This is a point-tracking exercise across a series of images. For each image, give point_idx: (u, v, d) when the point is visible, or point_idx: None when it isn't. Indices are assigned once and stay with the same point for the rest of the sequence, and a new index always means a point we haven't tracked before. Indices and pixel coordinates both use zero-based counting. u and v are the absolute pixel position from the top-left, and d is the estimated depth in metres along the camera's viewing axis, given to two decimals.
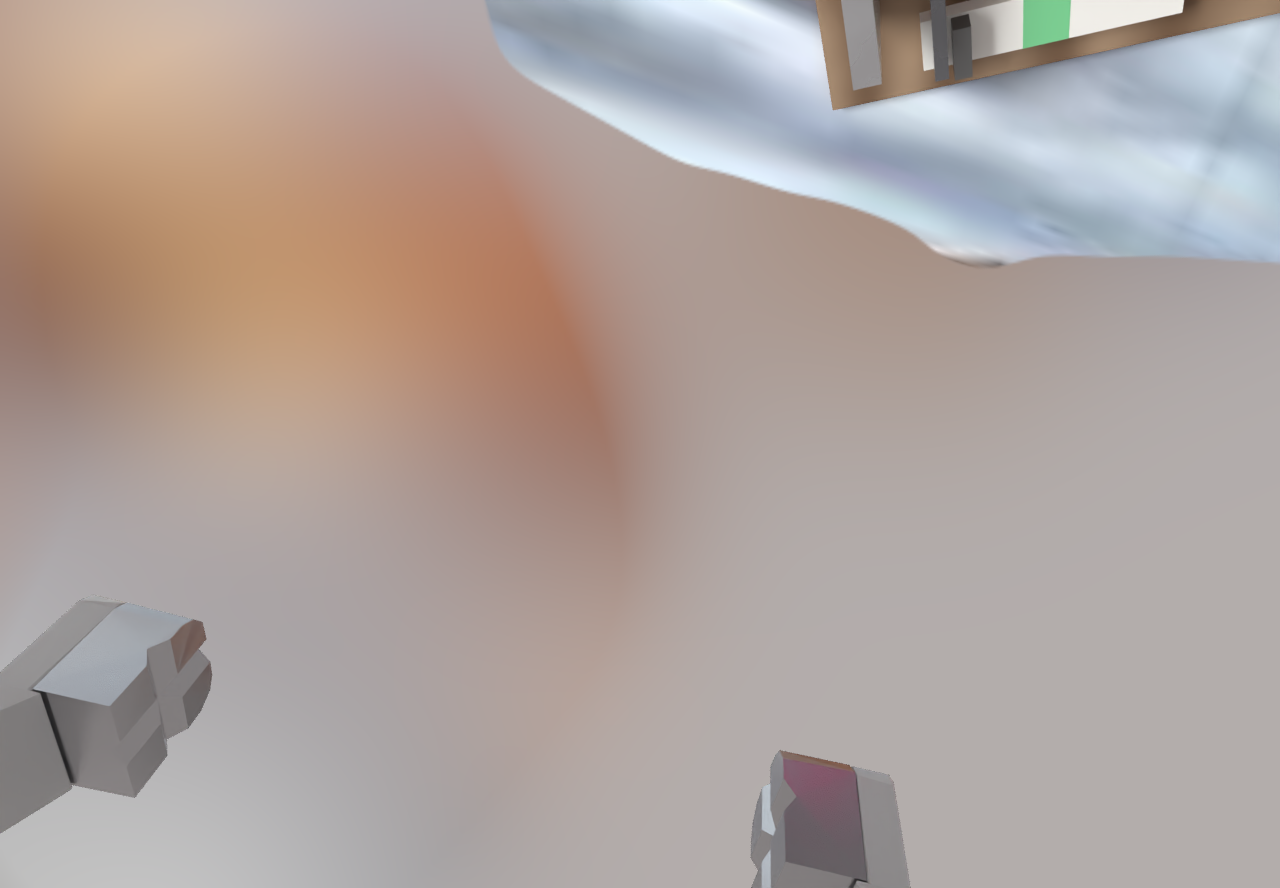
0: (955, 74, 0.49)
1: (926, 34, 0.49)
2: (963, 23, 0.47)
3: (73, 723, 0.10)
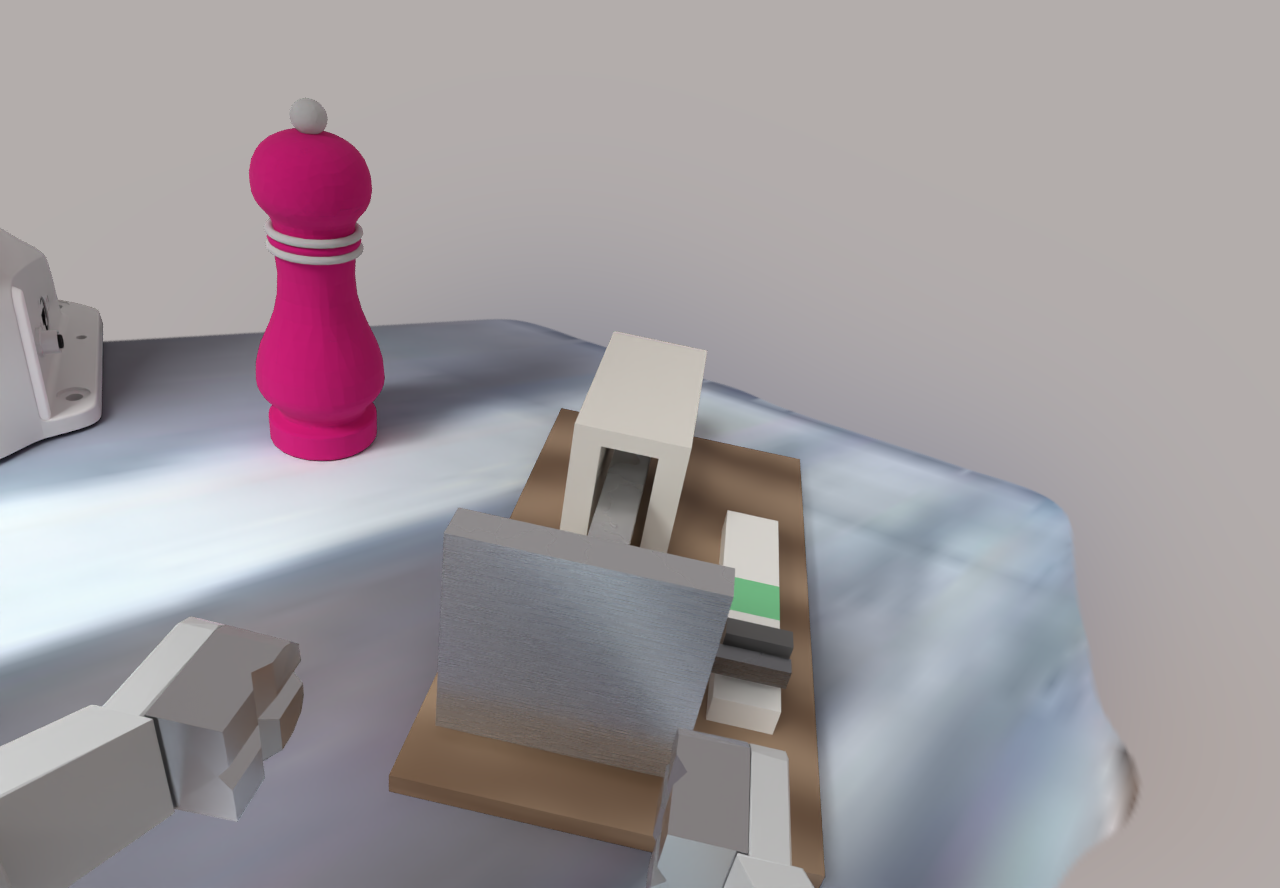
0: (785, 646, 0.35)
1: (730, 695, 0.35)
2: (723, 633, 0.36)
3: (182, 748, 0.10)
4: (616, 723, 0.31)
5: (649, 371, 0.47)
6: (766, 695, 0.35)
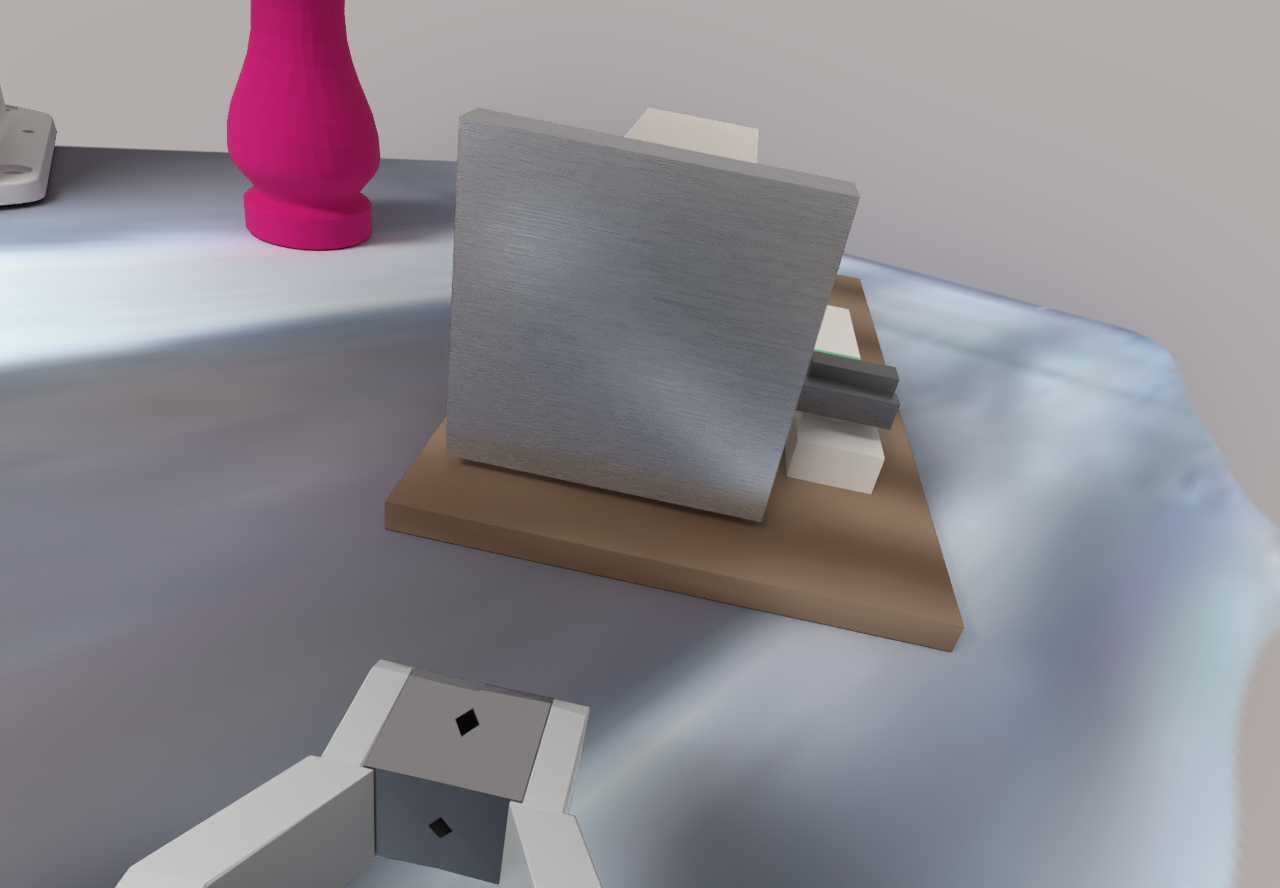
0: (888, 379, 0.28)
1: (819, 441, 0.28)
2: (807, 370, 0.28)
3: (396, 798, 0.09)
4: (684, 432, 0.23)
5: (694, 132, 0.39)
6: (863, 444, 0.28)
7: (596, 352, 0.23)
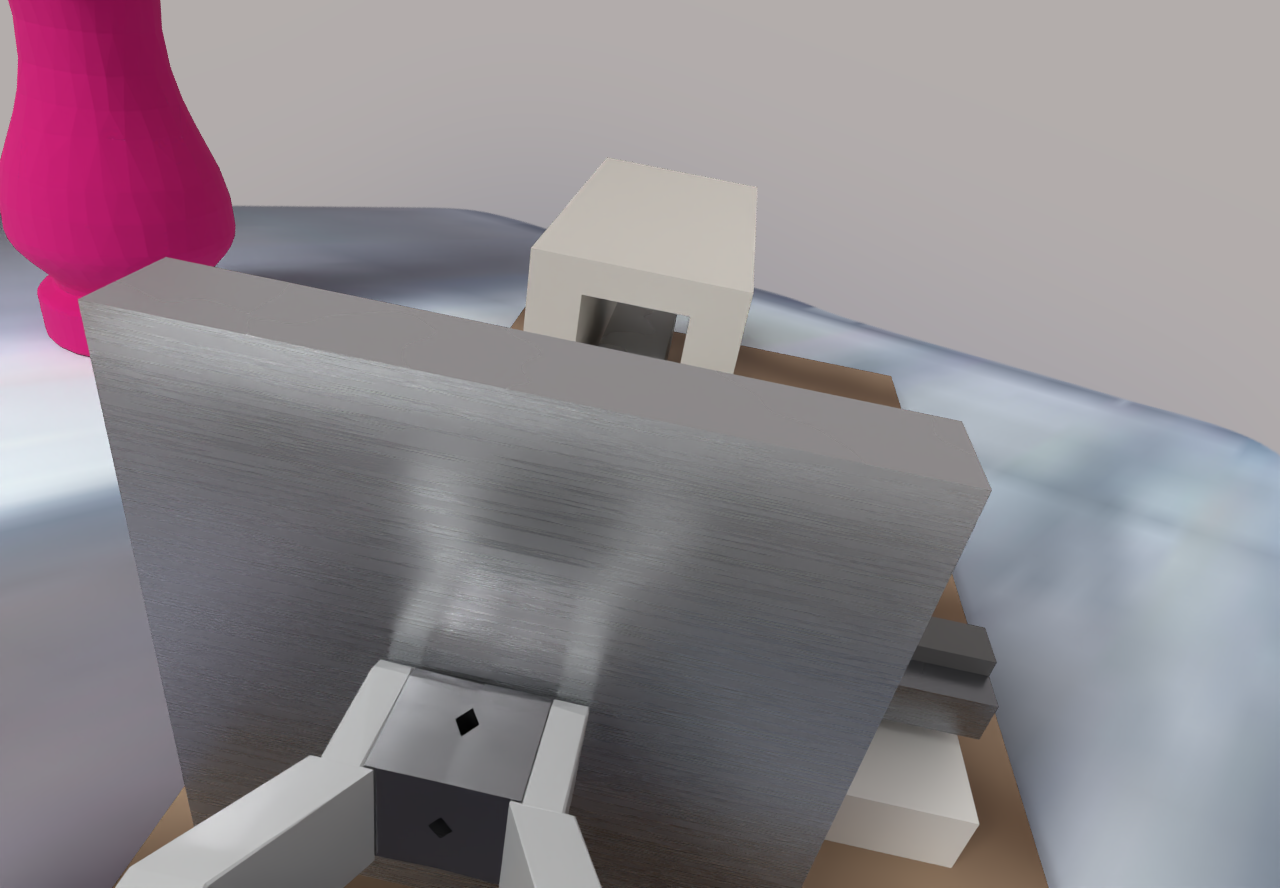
0: (977, 659, 0.16)
1: (863, 786, 0.16)
2: None
3: (396, 798, 0.09)
4: (618, 842, 0.12)
5: (666, 200, 0.28)
6: (939, 783, 0.16)
7: None
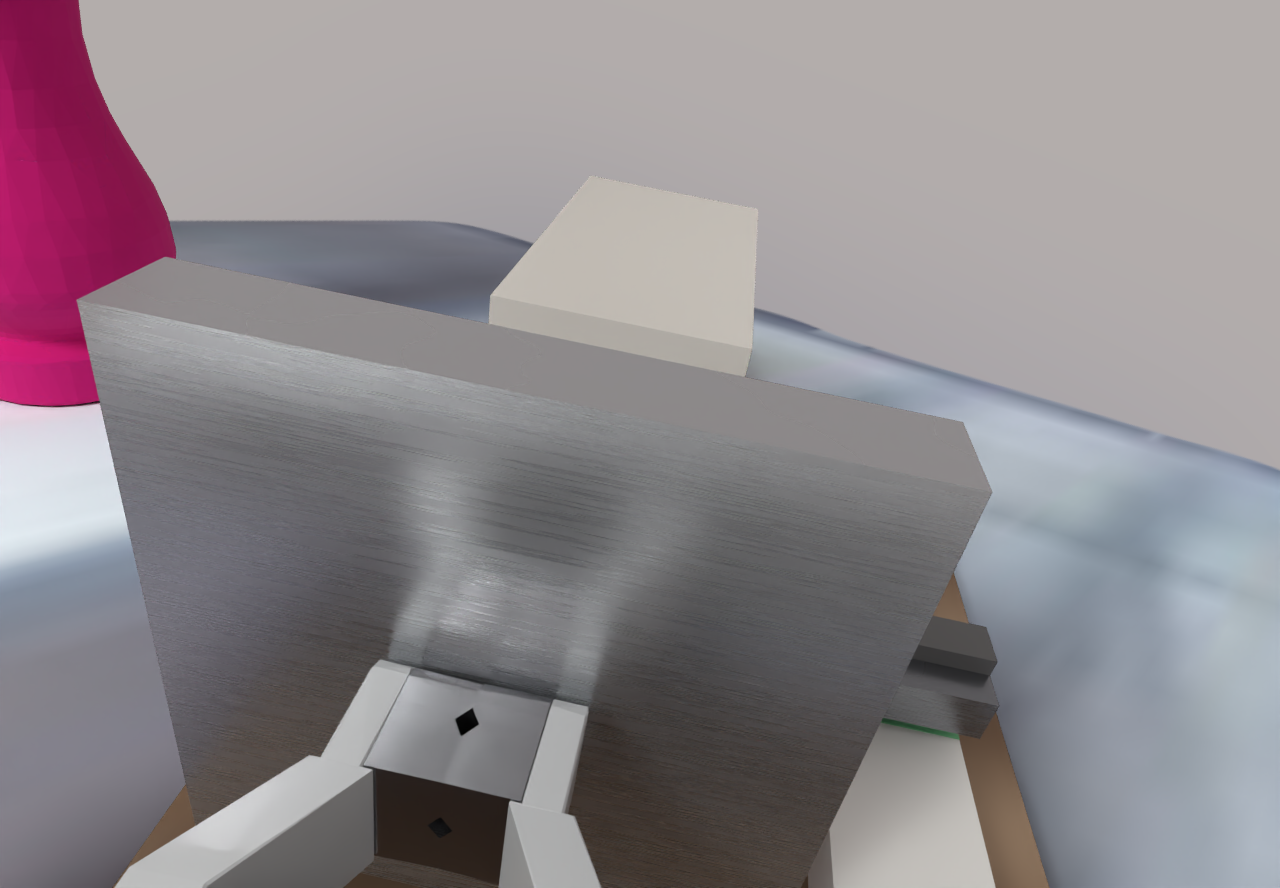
0: (978, 659, 0.16)
1: None
2: None
3: (396, 798, 0.09)
4: (617, 841, 0.12)
5: (654, 228, 0.24)
6: None
7: None
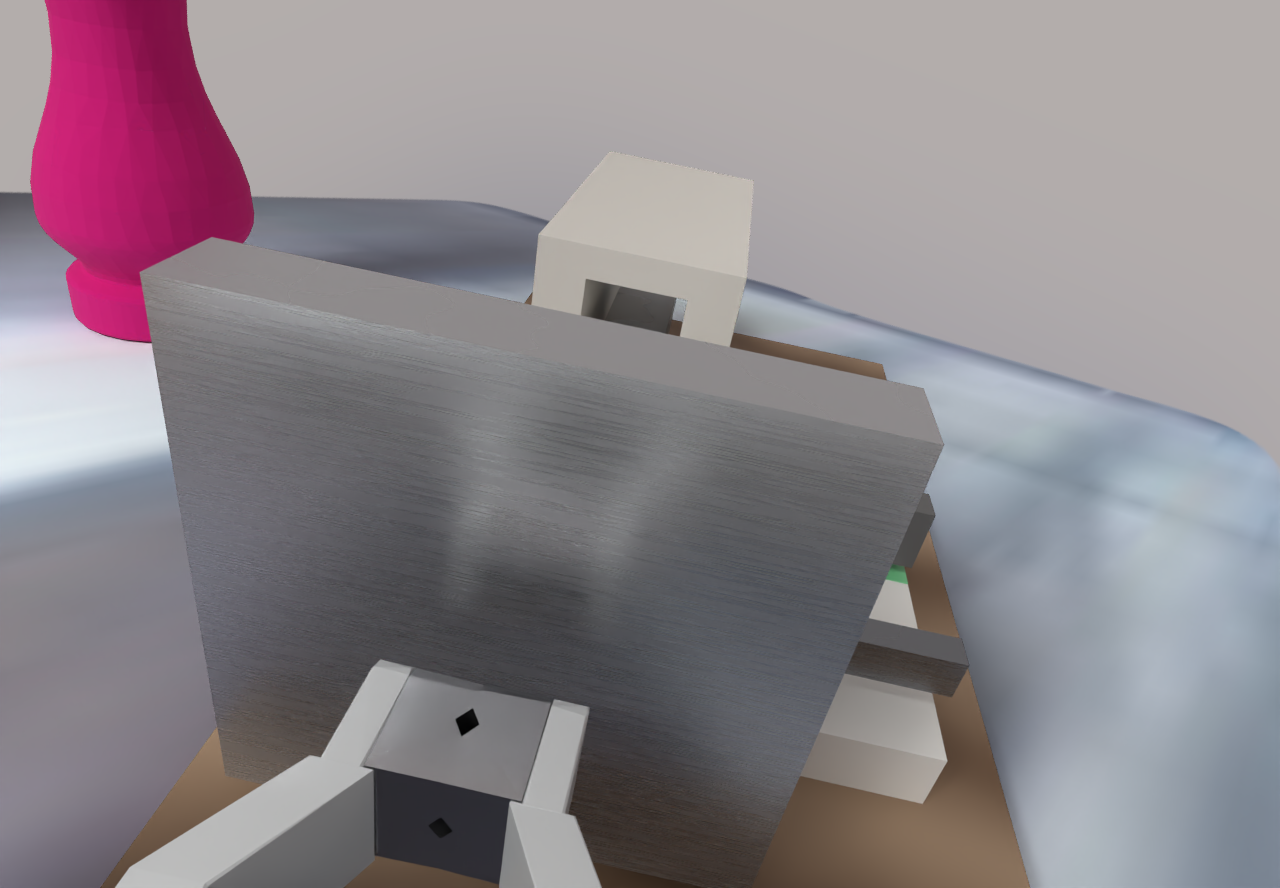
0: (921, 514, 0.21)
1: (842, 727, 0.17)
2: None
3: (397, 798, 0.09)
4: (614, 777, 0.14)
5: (666, 192, 0.29)
6: (912, 726, 0.18)
7: (452, 659, 0.13)
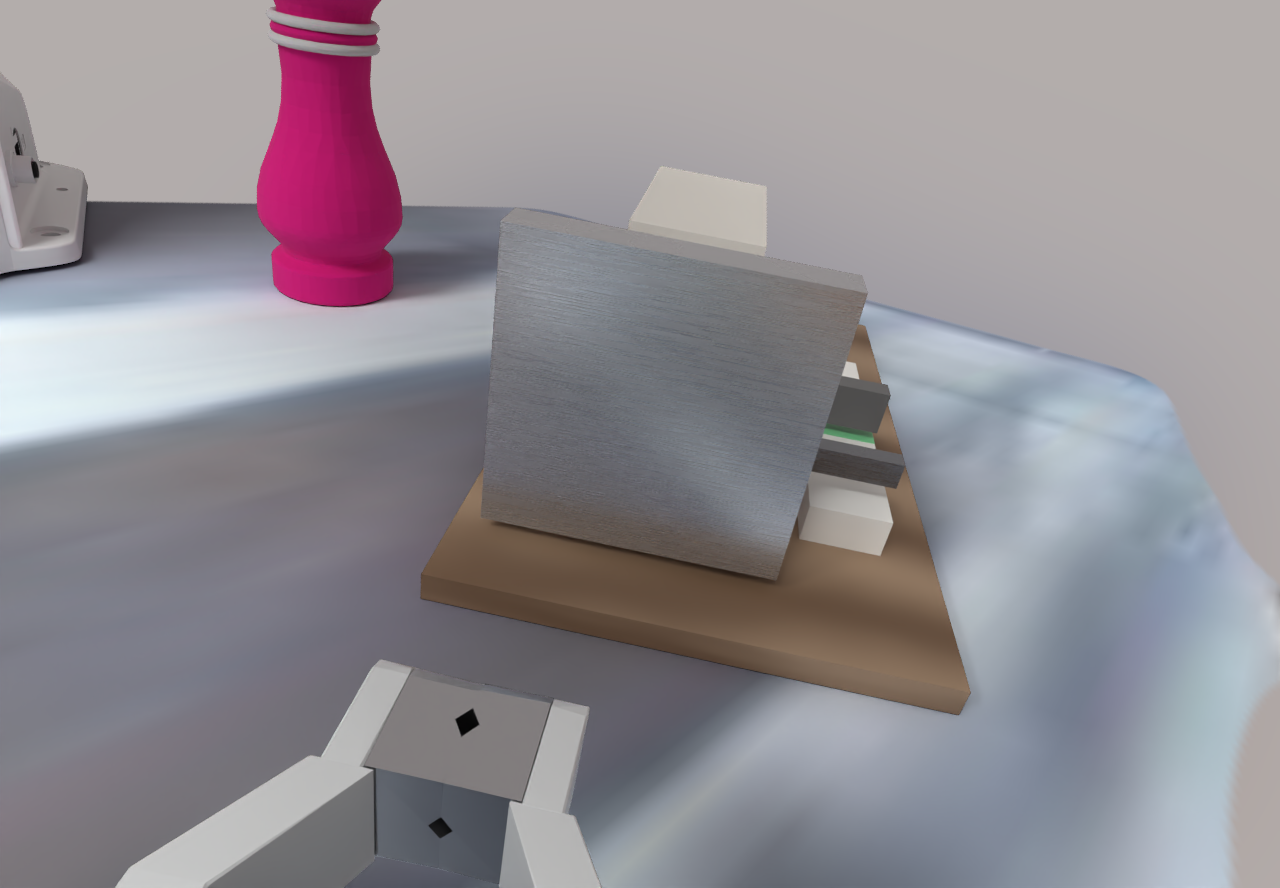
0: (881, 395, 0.33)
1: (830, 506, 0.29)
2: None
3: (396, 798, 0.09)
4: (705, 499, 0.25)
5: (705, 194, 0.41)
6: (873, 507, 0.29)
7: (623, 427, 0.24)
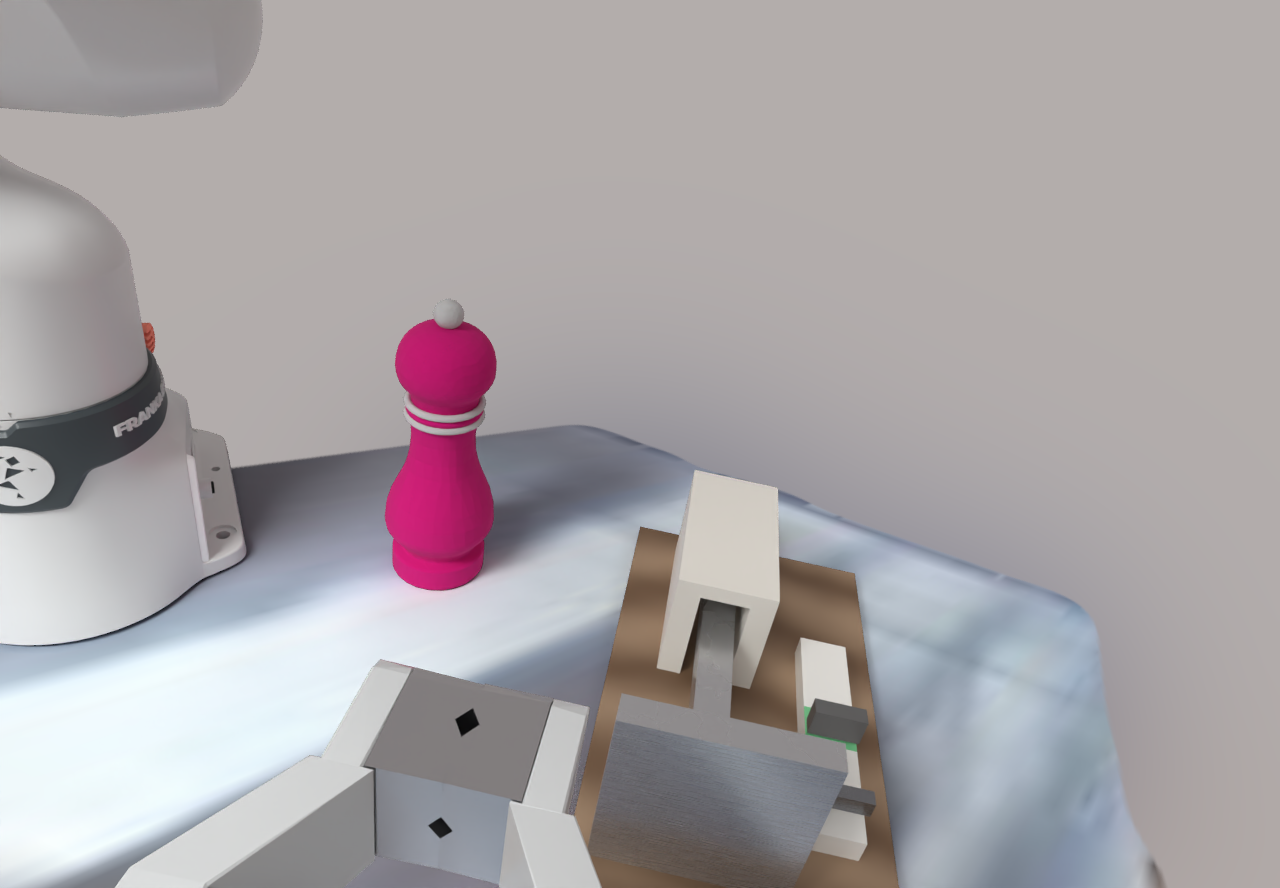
0: (862, 722, 0.45)
1: (824, 829, 0.41)
2: (812, 710, 0.46)
3: (397, 798, 0.09)
4: (740, 857, 0.38)
5: (731, 516, 0.53)
6: (853, 828, 0.42)
7: (688, 819, 0.37)
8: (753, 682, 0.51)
